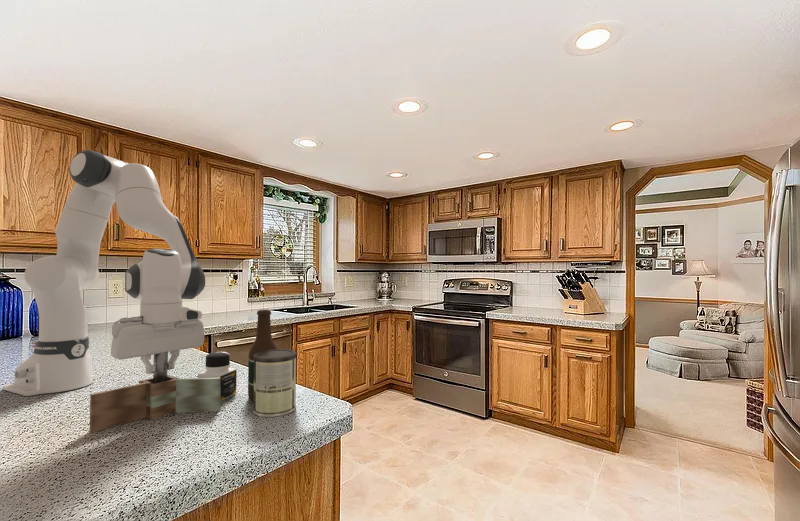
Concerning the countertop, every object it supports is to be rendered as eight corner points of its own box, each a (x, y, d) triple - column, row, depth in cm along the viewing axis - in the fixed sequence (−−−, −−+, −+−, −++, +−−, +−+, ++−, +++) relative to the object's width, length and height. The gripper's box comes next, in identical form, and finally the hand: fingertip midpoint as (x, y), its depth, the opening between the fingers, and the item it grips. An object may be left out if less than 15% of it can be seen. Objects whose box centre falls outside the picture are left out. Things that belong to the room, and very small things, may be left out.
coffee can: (245, 409, 98) (246, 353, 98) (283, 400, 105) (284, 347, 106) (264, 421, 91) (265, 359, 91) (303, 410, 98) (304, 353, 98)
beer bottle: (260, 405, 101) (261, 312, 102) (241, 399, 105) (242, 310, 106) (284, 396, 108) (285, 309, 109) (265, 392, 112) (266, 308, 113)
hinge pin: (149, 391, 95) (150, 341, 95) (160, 387, 98) (161, 339, 98) (160, 392, 94) (160, 342, 94) (170, 388, 97) (171, 340, 97)
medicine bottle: (220, 401, 104) (221, 356, 104) (196, 400, 105) (197, 355, 106) (236, 393, 111) (237, 351, 111) (214, 392, 112) (215, 349, 113)
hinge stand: (190, 399, 105) (191, 369, 106) (221, 410, 97) (222, 377, 98) (84, 428, 86) (85, 392, 86) (112, 445, 78) (113, 404, 78)
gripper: (118, 319, 86) (117, 383, 86) (208, 311, 103) (207, 364, 103) (106, 317, 89) (105, 378, 89) (194, 310, 107) (194, 361, 106)
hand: (160, 371), depth 96 cm, fingers closed on hinge pin, 3 cm apart
